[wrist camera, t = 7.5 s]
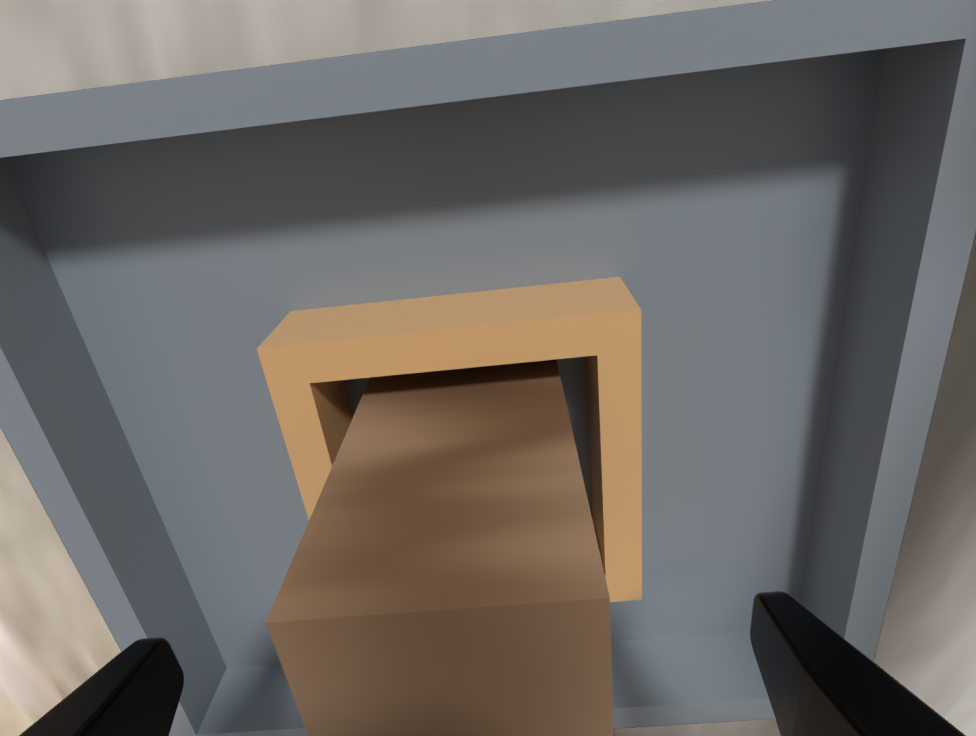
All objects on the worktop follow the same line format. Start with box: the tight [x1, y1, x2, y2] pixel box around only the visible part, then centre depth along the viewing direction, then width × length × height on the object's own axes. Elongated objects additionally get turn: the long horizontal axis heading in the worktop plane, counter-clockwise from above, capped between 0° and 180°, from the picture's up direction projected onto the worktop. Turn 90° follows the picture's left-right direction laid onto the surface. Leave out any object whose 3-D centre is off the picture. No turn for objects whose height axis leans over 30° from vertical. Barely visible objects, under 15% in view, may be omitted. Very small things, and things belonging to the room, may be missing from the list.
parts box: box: [0, 0, 976, 736], centre depth 14 cm, size 18×16×3 cm
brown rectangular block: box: [266, 359, 614, 736], centre depth 11 cm, size 4×4×7 cm
